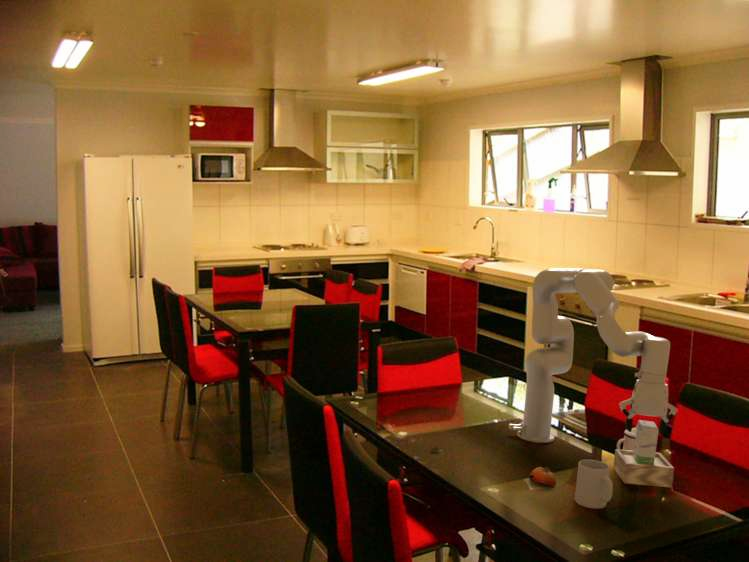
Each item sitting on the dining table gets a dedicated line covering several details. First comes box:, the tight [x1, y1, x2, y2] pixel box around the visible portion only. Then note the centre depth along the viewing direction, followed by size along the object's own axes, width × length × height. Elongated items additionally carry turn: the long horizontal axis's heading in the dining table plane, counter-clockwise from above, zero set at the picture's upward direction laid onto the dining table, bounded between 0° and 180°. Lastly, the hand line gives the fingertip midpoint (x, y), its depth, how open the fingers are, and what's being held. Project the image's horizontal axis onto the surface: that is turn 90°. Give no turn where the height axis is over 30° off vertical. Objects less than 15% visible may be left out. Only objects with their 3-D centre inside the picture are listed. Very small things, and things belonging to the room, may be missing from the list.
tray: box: [613, 448, 675, 488], centre depth 247 cm, size 14×14×6 cm
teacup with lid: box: [616, 425, 637, 451], centre depth 263 cm, size 12×9×12 cm
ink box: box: [633, 419, 659, 465], centre depth 247 cm, size 9×5×12 cm, turn 171°
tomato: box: [529, 466, 557, 488], centre depth 236 cm, size 8×7×7 cm
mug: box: [574, 459, 614, 510], centre depth 221 cm, size 12×8×11 cm
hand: (644, 432), depth 247 cm, fingers open, 9 cm apart
